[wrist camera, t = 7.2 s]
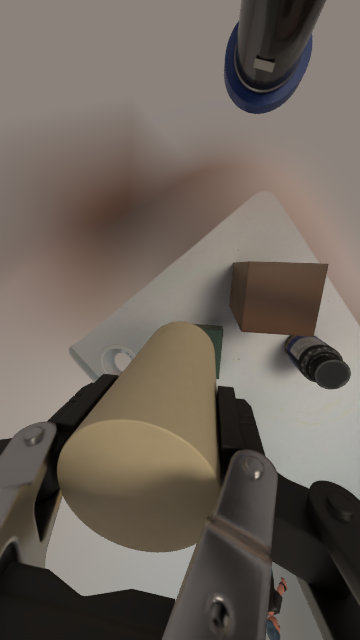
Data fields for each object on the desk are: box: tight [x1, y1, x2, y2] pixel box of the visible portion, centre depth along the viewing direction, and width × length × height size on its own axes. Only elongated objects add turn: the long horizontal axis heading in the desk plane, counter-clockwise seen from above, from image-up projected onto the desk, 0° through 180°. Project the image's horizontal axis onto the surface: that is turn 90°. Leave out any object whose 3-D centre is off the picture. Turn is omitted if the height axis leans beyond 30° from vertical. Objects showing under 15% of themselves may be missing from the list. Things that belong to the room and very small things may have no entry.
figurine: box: [267, 570, 287, 640], centre depth 44 cm, size 9×9×18 cm
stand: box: [229, 262, 328, 337], centre depth 31 cm, size 8×8×16 cm
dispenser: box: [193, 324, 223, 379], centre depth 41 cm, size 10×10×5 cm
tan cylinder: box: [57, 322, 222, 552], centre depth 11 cm, size 5×5×10 cm
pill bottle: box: [285, 335, 351, 389], centre depth 35 cm, size 6×6×11 cm
